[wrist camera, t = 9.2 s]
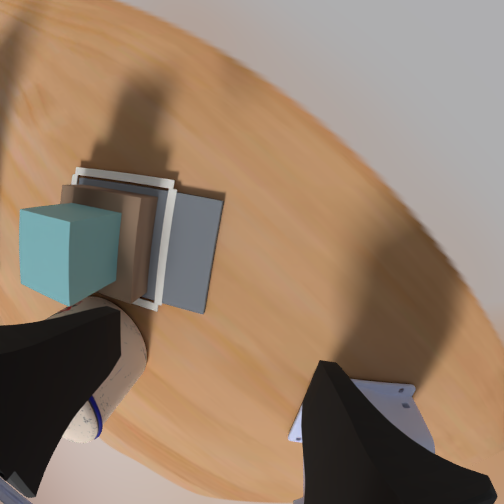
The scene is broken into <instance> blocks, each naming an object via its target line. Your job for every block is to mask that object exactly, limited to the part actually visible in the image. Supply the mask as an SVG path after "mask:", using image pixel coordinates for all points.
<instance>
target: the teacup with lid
mask: <svg viewBox="0 0 504 504" xmlns="http://www.w3.org/2000/svg"><path fill="white" fill-rule="evenodd" d="M103 306H109V307H112V308H114V309H117V310H120V311H121V357H120V359H119V360H118V362H117V364H116V365H115V367H114V369H113V370H112V372H111V373H110V375H109V376H108V377H107V378H106V380H105V381H104V382H103V383H102V384H101V386H100V387H99V388H98V389H97V390H96V391H95V393H94V394H93V395H92V396H91V397H90V398H89V400H88V401H87V402H86V403H85V404H84V406H83V407H82V408H81V409H80V410H79V411H78V413H77V414H76V415H75V417H74V418H73V420H72V421H71V423H70V424H69V426H68V428H67V429H66V431H65V432H64V434H63V436H62V437H63V438H65V439H67V440H70V441H73V442H77V443H86V442H90V441H92V440H94V439H96V438H97V437H99V435H100V434H101V432H102V427H103V424H104V423H105V422H106V420H107V419H108V418H109V416H110V415H111V414H112V412H113V411H114V410H115V409H116V407H117V406H118V405H119V403H120V402H121V401H122V399H123V398H124V397H125V396H126V394H127V393H128V392H129V390H130V389H131V388H132V386H133V385H134V384H135V383H136V381H137V380H138V379H139V377H140V376H141V375H142V373H143V372H144V370H145V367H146V362H147V352H146V347H145V343H144V340H143V338H142V335H141V333H140V331H139V330H138V328H137V326H136V325H135V323H134V322H133V321H132V319H131V318H130V317H129V316H128V315H127V314H126V313H125V312H124V311H123V310H122V309H121V308H119V307H118V306H117V305H115V304H114V303H112V302H110V301H108V300H106V299H103V298H99V297H86V298H84V299H82V300H81V301H79V302H77V303H75V304H74V305H72V306H70V307H69V306H68V307H66V308H64V309H62V310H61V311H59V312H57V313H56V314H54V315H52V316H50V317H49V318H47V319H45V320H48V319H53V318H57V317H62V316H66V315H69V314H73V313H77V312H81V311H85V310H89V309H93V308H98V307H103Z"/></svg>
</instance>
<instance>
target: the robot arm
mask: <svg viewBox="0 0 504 504" xmlns="http://www.w3.org/2000/svg"><path fill="white" fill-rule="evenodd" d="M120 357H121V311H120V310H117V309H114V308H112V307H109V306H103V307H98V308H93V309H89V310H85V311H81V312H77V313H73V314H69V315H66V316H62V317H57V318H53V319H48V320H43V321H38V322H33V323H26V324H18V325H3V326H0V476H1V477H2V478H3V479H4V480H5V481H7V482H8V483H9V484H11V485H12V486H13V487H15V488H16V489H17V490H18V491H19V492H21V493H22V494H23V495H24V496H26V497H28V498H30V497H31V498H32V497H36V494H37V491H38V488H39V485H40V482H41V480H42V477H43V474H44V472H45V470H46V467H47V465H48V463H49V461H50V458H51V456H52V454H53V452H54V450H55V448H56V447H57V445H58V443H59V441H60V439H61V437H62V436H63V434H64V432H65V431H66V429H67V428H68V426H69V424H70V423H71V421H72V420H73V418H74V417H75V415H76V414H77V413H78V411H79V410H80V409H81V408H82V407H83V406H84V404H85V403H86V402H87V401H88V400H89V398H90V397H91V396H92V395H93V394H94V393H95V391H96V390H97V389H98V388H99V387H100V386H101V384H102V383H103V382H104V381H105V380H106V378H107V377H108V376H109V375H110V373H111V372H112V370H113V369H114V367H115V365H116V364H117V362H118V360H119V359H120ZM400 389H401V390H400ZM415 390H416V388H415V386H414V385H412V384H398V383H385V382H375V381H365V380H357V379H350V378H349V377H348V375H347V374H346V373H345V372H344V371H343V370H342V368H341V367H340V366H339V365H338V364H337V363H334V362H328V361H321V360H320V361H319V363H318V366H317V368H316V371H315V374H314V376H313V378H312V381H311V383H310V386H309V388H308V391H307V393H306V396H305V398H304V400H303V403H302V405H301V407H300V410H299V412H298V414H297V417H296V419H295V421H294V423H293V426H292V428H291V430H290V432H289V434H288V439H289V440H290V441H295V442H302V445H303V497H302V498H300V499H297V500H294V501H293V504H494V502H495V501H496V499H497V494H496V491H495V489H494V487H493V485H492V483H491V481H490V478H489V477H488V476H487V475H484V474H481V473H478V472H475V471H472V470H469V469H466V468H463V467H461V466H458V465H456V464H454V463H452V462H450V461H448V460H445V459H443V458H441V457H440V456H438V455H436V454H435V446H434V441H433V438H432V436H431V434H430V432H429V430H428V427H427V425H426V423H425V421H424V419H423V417H422V415H421V413H420V411H419V409H418V407H417V406H416V404H415V402H414V400H413V398H412V395H413V394H414V392H415ZM298 437H300V438H298ZM4 480H2V479H1V478H0V500H1V502H3V503H4V504H32V503H31V502H29V501H28V500H27V499H26V498H24V497H23V496H22V495H20V494H19V493H18V492H17V491H15V490H14V489H13V488H12V487H11V486H9V485H8V484H7V483H6V482H5V481H4Z"/></svg>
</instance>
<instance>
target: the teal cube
mask: <svg viewBox="0 0 504 504" xmlns="http://www.w3.org/2000/svg"><path fill="white" fill-rule="evenodd" d="M121 215H122V213H119V212H114V211H109V210H104V209H100V208H95V207H90V206H85V205H80V204H75V203H67V204H58V205H49V206H41V207H33V208H26V209H20V224H19V255H20V276H21V284H23V285H25V286H27V287H29V288H31V289H33V290H35V291H37V292H39V293H41V294H43V295H45V296H47V297H49V298H51V299H54V300H56V301H58V302H60V303H62V304H64V305H67V306H69V307H70V306H72V305H74V304H75V303H77V302H79V301H81V300H82V299H84V298H86V297H88V296H89V295H91V294H93V293H95V292H96V291H98V290H100V289H102V288H103V287H105V286H107V285H109V284H111V283H112V282H114V281H116V273H117V257H118V245H119V234H120V224H121Z"/></svg>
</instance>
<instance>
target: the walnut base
mask: <svg viewBox="0 0 504 504" xmlns="http://www.w3.org/2000/svg"><path fill="white" fill-rule="evenodd" d="M157 202H158V197H156V196H150V195H145V194H139V193H133V192H127V191H121V190H115V189H109V188H103V187H96V186H90V185H83V184H81V185H62V193H61V202H60V204H67V203H75V204H80V205H85V206H90V207H95V208H100V209H104V210H109V211H114V212H119V213H122V215H121V224H120V234H119V245H118V257H117V273H116V281H114V282H112V283H111V284H109V285H107V286H105V287H103V288H102V289H100V290H98V291H96V292H98V293H100V294H103V295H106V296H109V297H112V298H114V299H117V300H120V301H123V302H126V303H129V304H132V303H133V302H134V301H136V300H137V299H138V298H140V297H141V296H142V295H144V294H145V293H146V292H147V285H148V274H149V264H150V254H151V245H152V237H153V229H154V222H155V215H156V208H157Z"/></svg>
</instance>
